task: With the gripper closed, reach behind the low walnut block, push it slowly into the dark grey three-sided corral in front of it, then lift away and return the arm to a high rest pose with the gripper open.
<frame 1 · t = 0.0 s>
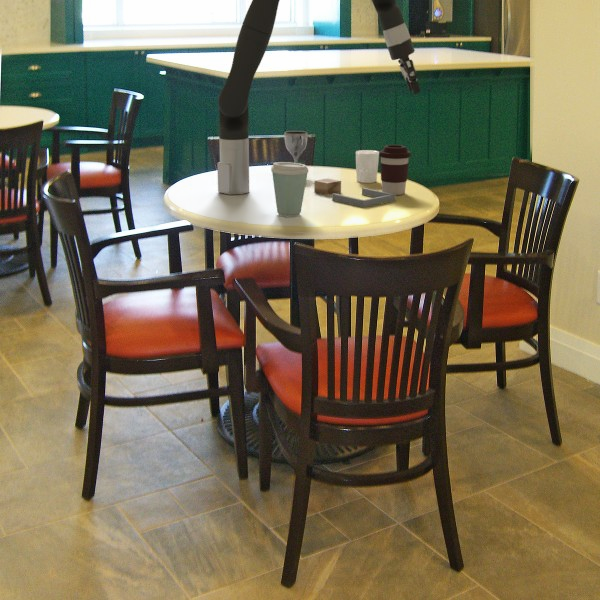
hand: (415, 91, 276), 31 cm above the table, tool tilted 20°, fingers open, 8 cm apart
grey corral: (363, 200, 273), on the table
coffee cup: (393, 194, 283), on the table
disposable coffee cup: (289, 215, 254), on the table
wine glass: (295, 175, 313), on the table
walnut block: (327, 193, 285), on the table
white cup: (366, 181, 303), on the table
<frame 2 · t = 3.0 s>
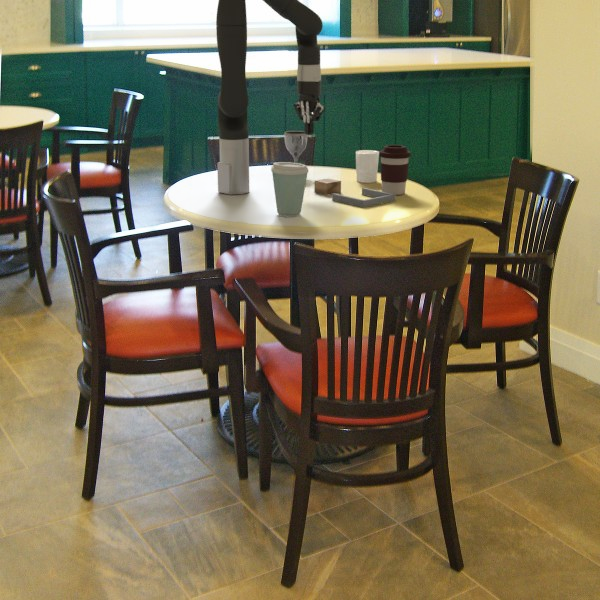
hand: (309, 134, 285), 17 cm above the table, tool pointing down, fingers closed
nothing on the table moved.
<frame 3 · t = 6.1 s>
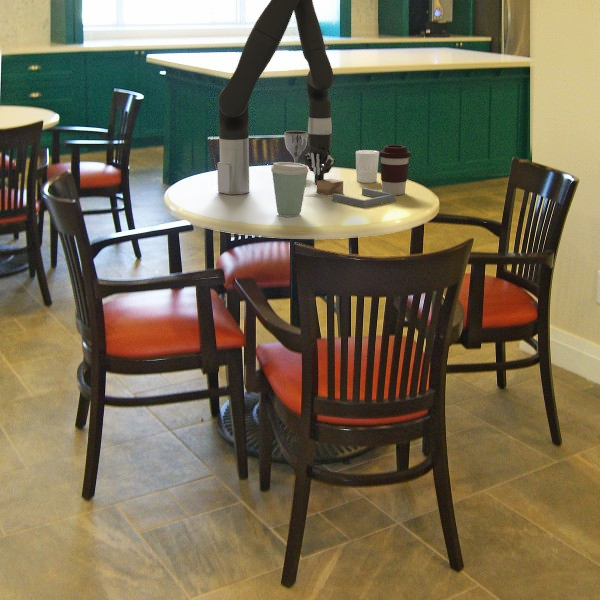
hand: (319, 185, 287), 2 cm above the table, tool pointing down, fingers closed
walnut block: (329, 193, 284), on the table, touching gripper
everything else where it was.
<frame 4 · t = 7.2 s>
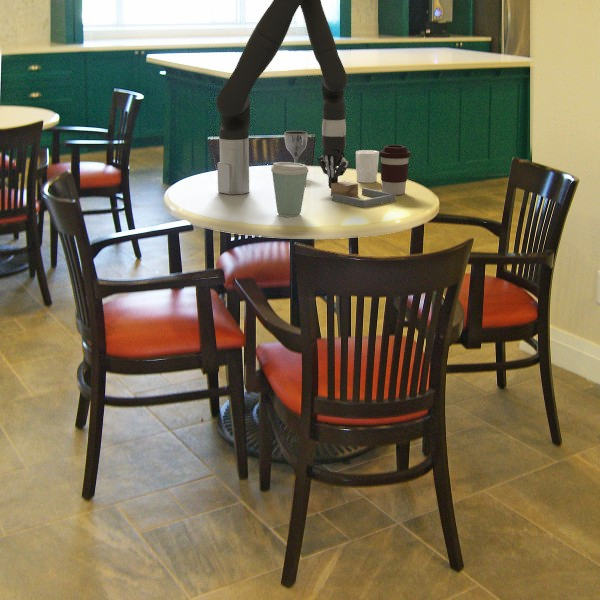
hand: (333, 188, 283), 2 cm above the table, tool pointing down, fingers closed
walnut block: (344, 196, 280), on the table
everything else where it was.
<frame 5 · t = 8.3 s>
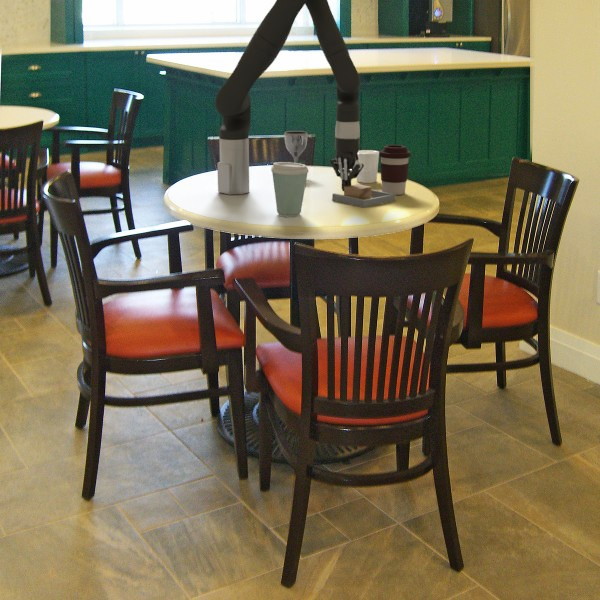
hand: (346, 191, 278), 2 cm above the table, tool pointing down, fingers closed
walnut block: (357, 199, 275), on the table, touching gripper
everything else where it was.
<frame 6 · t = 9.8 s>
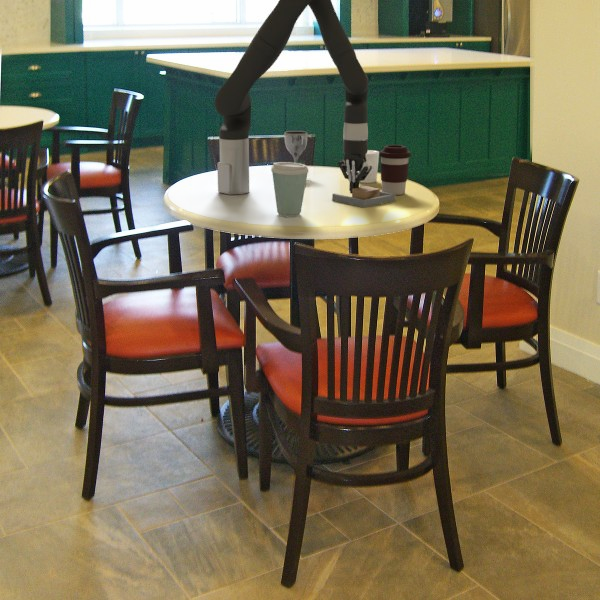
hand: (354, 193, 276), 2 cm above the table, tool pointing down, fingers closed
walnut block: (365, 201, 273), on the table
everything else where it was.
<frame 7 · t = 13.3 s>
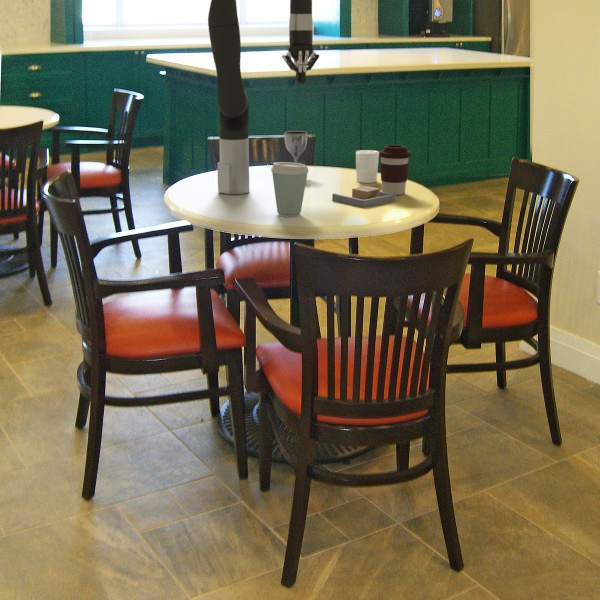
hand: (300, 83, 291), 32 cm above the table, tool pointing down, fingers closed
nothing on the table moved.
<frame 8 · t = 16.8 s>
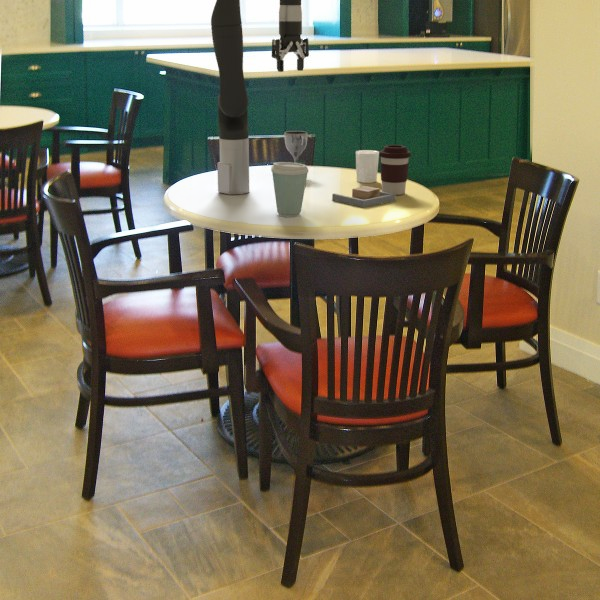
hand: (290, 71, 294), 36 cm above the table, tool pointing down, fingers open, 8 cm apart
nothing on the table moved.
at the end: walnut block inside the target area on the grey corral (0.1 cm from its centre), point 0.0 cm above the grey corral's base; walnut block tilted 0° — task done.
